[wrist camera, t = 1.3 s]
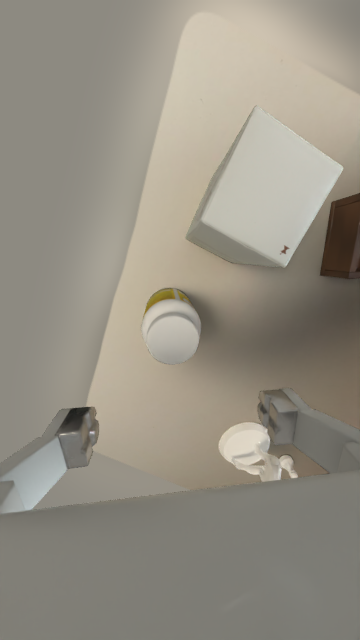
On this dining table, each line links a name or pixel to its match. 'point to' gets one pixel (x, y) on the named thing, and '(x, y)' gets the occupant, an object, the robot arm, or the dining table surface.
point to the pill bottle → (171, 326)
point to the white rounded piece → (288, 465)
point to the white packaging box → (263, 194)
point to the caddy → (343, 239)
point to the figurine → (250, 450)
